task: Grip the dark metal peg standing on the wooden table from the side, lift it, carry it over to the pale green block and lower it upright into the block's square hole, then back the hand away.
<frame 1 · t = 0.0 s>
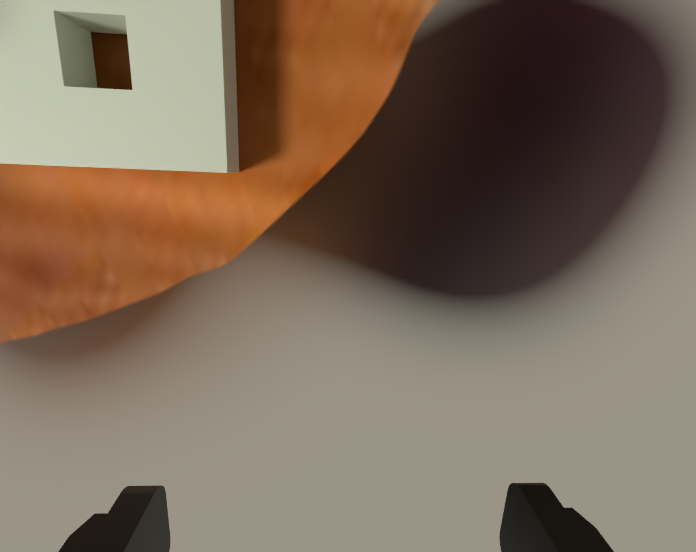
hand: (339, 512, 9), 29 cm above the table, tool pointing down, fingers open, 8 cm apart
hole block: (125, 66, 32), on the table
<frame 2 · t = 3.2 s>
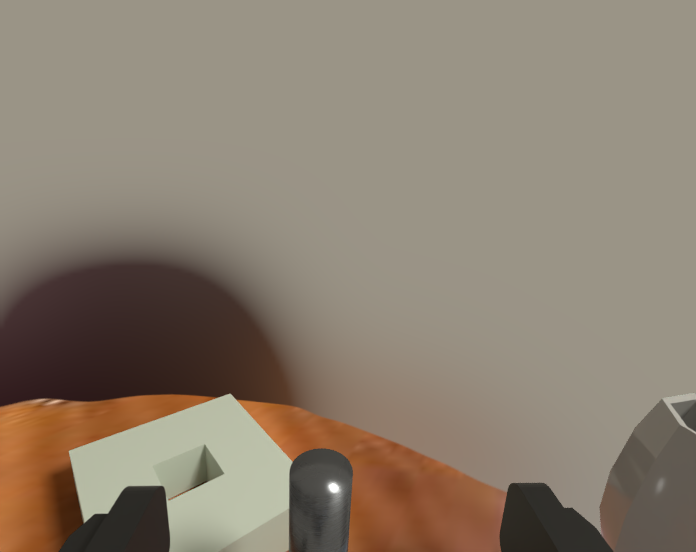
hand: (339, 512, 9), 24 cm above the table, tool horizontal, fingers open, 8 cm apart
hole block: (191, 508, 37), on the table
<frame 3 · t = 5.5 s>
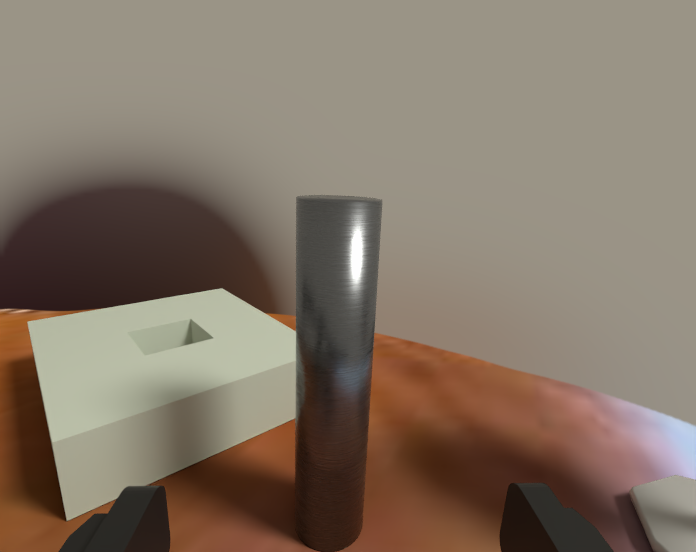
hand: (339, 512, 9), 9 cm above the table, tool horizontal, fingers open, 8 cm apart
peg: (328, 520, 20), on the table
hole block: (174, 388, 31), on the table
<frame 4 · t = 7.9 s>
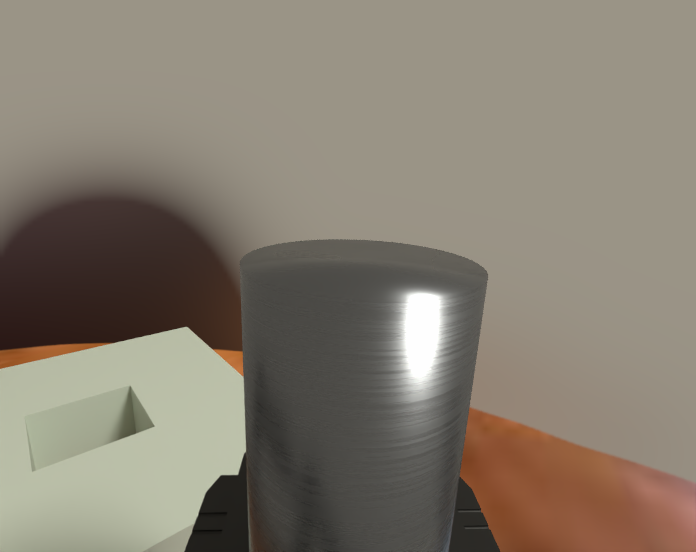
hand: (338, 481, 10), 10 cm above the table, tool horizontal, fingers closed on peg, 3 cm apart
hole block: (100, 494, 21), on the table
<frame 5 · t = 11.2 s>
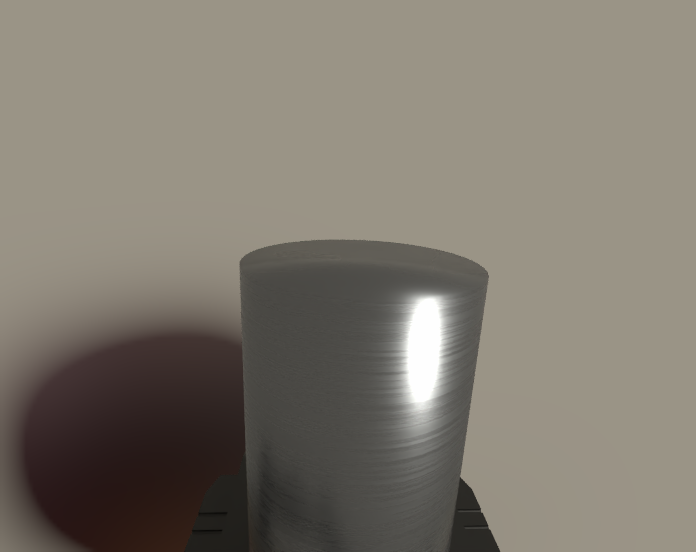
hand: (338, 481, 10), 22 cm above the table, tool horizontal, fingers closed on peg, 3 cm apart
when the fingers open (11 cm above the table, at t = 14.3 s): peg drops 1 cm, resting in hole block.
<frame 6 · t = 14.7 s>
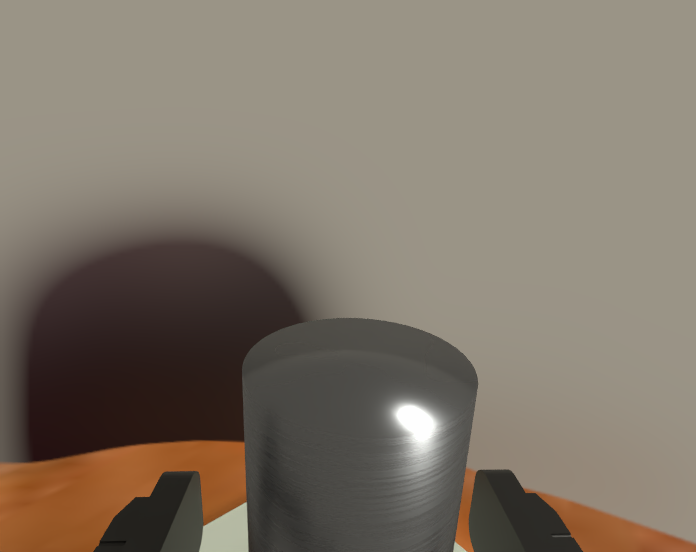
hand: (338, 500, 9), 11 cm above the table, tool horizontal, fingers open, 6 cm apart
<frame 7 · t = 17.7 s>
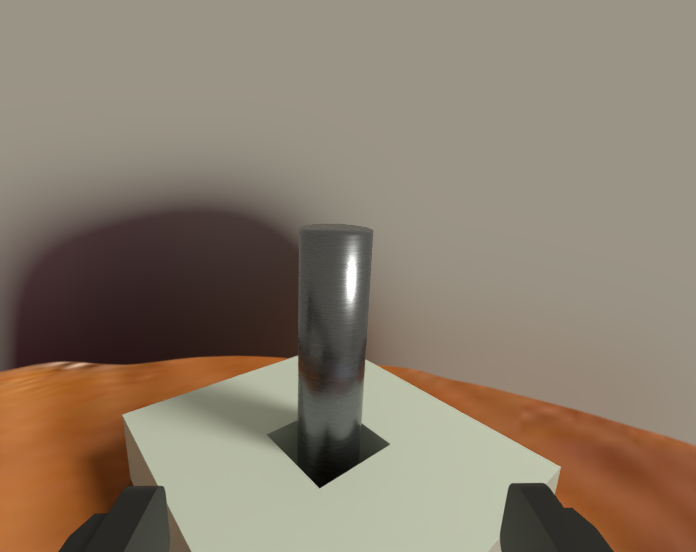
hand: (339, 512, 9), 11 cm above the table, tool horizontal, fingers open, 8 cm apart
peg: (326, 507, 22), resting in hole block
hole block: (325, 505, 22), on the table
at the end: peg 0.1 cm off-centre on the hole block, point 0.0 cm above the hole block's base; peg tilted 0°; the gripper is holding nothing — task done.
